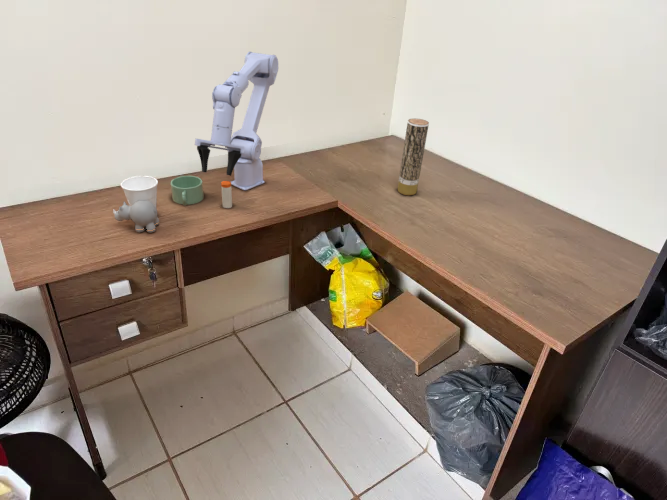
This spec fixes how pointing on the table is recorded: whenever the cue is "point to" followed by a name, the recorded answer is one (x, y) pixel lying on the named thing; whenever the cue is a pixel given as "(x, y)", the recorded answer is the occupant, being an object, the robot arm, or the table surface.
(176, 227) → the table surface
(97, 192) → the table surface
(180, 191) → the mug
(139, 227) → the chubby cartoon animal
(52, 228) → the table surface
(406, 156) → the paper tube
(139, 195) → the cup
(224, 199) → the glue stick
